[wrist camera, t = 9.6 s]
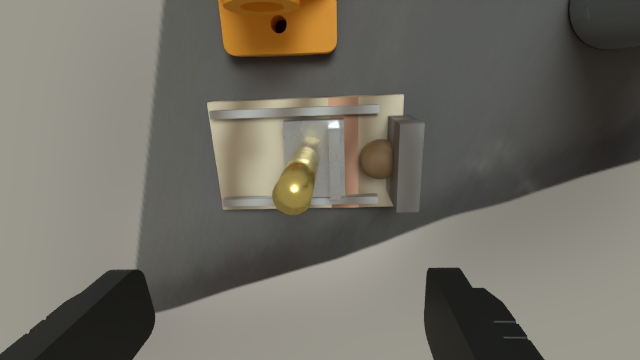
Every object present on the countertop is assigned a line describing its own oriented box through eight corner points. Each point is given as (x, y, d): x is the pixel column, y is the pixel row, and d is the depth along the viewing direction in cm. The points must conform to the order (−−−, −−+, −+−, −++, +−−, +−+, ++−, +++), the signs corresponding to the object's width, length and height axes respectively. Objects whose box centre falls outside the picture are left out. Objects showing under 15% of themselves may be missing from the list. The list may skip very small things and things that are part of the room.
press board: (404, 93, 32) (426, 97, 24) (399, 199, 36) (417, 231, 28) (214, 101, 33) (178, 107, 25) (229, 203, 37) (201, 234, 29)
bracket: (233, 57, 32) (177, 45, 20) (224, -23, 29) (155, -88, 18) (336, 54, 31) (338, 39, 20) (335, -29, 29) (336, -100, 17)
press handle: (343, 117, 31) (348, 138, 20) (344, 191, 33) (349, 246, 22) (284, 119, 31) (257, 141, 20) (290, 192, 33) (269, 247, 23)
